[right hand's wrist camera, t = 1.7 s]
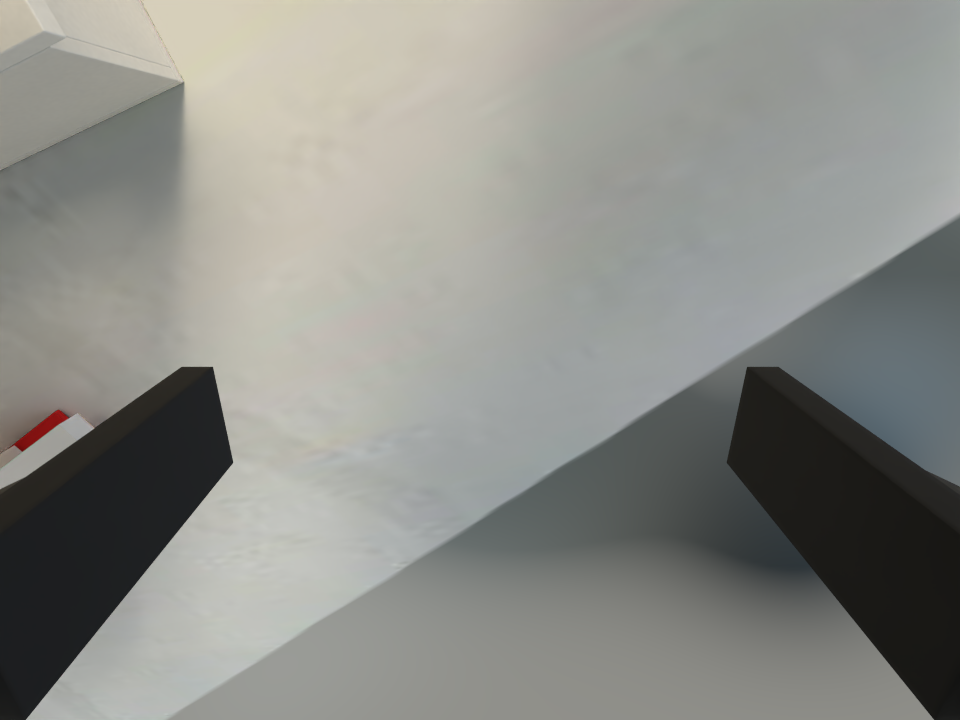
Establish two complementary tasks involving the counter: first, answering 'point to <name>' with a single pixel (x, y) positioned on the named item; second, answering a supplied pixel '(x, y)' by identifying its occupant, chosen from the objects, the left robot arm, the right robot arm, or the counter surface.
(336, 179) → the counter surface
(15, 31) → the lid
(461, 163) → the counter surface
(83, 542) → the right robot arm
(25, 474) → the toy
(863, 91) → the counter surface
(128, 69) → the white open box
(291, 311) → the counter surface
